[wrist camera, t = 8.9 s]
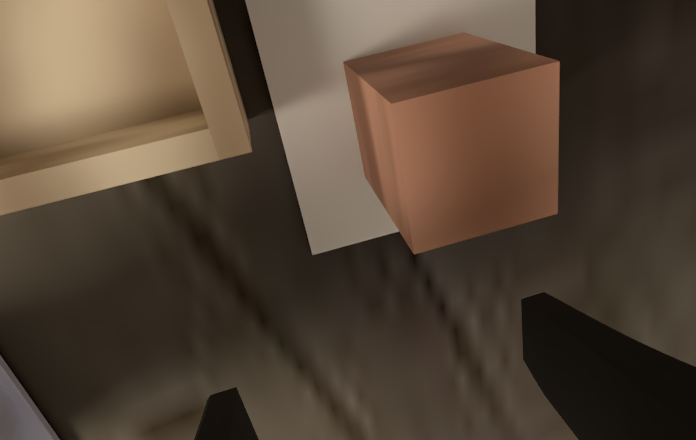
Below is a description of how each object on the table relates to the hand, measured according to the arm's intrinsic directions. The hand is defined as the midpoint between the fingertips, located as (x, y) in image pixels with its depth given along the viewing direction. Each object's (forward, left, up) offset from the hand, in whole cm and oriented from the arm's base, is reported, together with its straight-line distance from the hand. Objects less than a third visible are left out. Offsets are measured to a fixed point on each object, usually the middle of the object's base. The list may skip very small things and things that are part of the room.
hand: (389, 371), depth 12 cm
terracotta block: (+4, +3, -9) cm, 10 cm away
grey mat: (+4, +3, -9) cm, 11 cm away
